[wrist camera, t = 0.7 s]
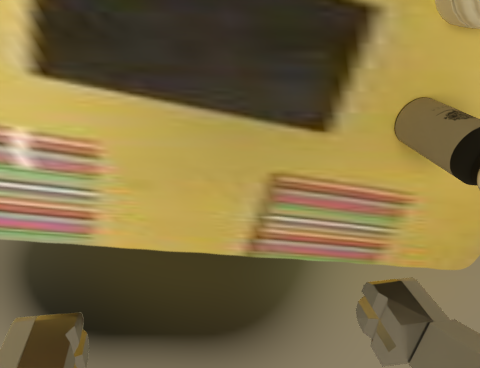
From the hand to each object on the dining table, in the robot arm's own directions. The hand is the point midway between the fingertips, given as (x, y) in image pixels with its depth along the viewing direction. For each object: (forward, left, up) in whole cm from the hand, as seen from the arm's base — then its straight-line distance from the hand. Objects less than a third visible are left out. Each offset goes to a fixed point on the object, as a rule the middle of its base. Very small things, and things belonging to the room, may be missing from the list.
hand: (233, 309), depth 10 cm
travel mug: (+3, +40, -42) cm, 58 cm away
